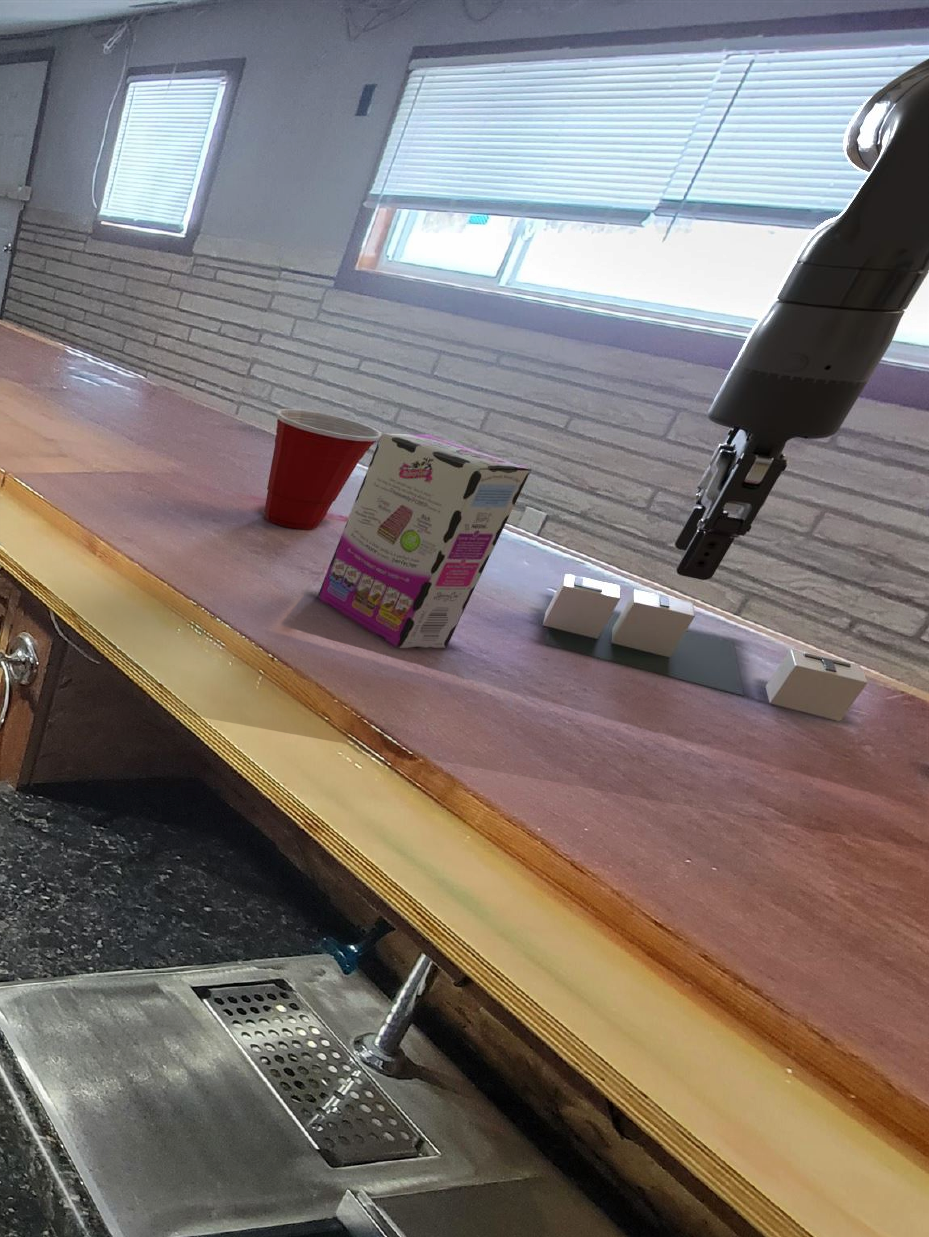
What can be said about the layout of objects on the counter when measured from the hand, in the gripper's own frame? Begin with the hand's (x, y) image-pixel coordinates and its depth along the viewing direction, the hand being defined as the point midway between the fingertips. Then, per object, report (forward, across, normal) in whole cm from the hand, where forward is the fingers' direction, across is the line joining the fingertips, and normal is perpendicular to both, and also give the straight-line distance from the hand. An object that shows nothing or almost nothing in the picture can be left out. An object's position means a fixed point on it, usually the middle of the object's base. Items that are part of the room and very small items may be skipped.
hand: (690, 562), depth 83 cm
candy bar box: (+8, -12, +19) cm, 24 cm away
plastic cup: (+8, +15, +32) cm, 36 cm away
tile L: (+8, 0, +5) cm, 9 cm away
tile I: (+8, 0, 0) cm, 8 cm away
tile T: (+8, -5, -10) cm, 14 cm away
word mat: (+8, 0, 0) cm, 8 cm away
